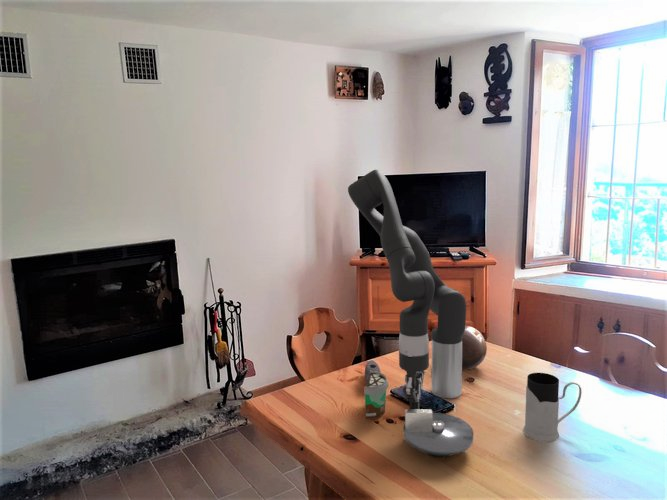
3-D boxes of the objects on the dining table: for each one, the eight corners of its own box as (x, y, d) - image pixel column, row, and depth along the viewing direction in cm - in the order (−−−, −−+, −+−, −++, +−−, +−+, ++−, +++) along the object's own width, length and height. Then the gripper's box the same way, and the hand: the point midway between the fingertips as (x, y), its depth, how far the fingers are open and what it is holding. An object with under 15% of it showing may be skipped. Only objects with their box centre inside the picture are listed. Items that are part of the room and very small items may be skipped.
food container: (387, 422, 135) (386, 388, 134) (365, 421, 137) (364, 387, 135) (390, 402, 147) (390, 370, 146) (370, 400, 148) (369, 369, 147)
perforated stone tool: (364, 373, 169) (363, 354, 168) (379, 373, 169) (379, 354, 168) (365, 392, 154) (365, 372, 153) (382, 392, 154) (381, 371, 153)
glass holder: (518, 424, 133) (519, 371, 130) (571, 423, 132) (574, 370, 130) (530, 441, 124) (532, 386, 121) (587, 441, 123) (590, 385, 121)
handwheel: (464, 418, 130) (465, 394, 129) (481, 455, 113) (481, 428, 112) (400, 418, 130) (400, 395, 129) (407, 455, 114) (407, 429, 113)
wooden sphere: (482, 379, 161) (483, 335, 158) (437, 372, 167) (437, 330, 165) (489, 362, 174) (490, 322, 172) (447, 357, 181) (447, 318, 178)
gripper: (406, 339, 131) (406, 399, 134) (392, 356, 119) (393, 422, 122) (434, 342, 128) (434, 403, 131) (422, 360, 116) (423, 428, 119)
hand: (414, 412), depth 126 cm, fingers closed
